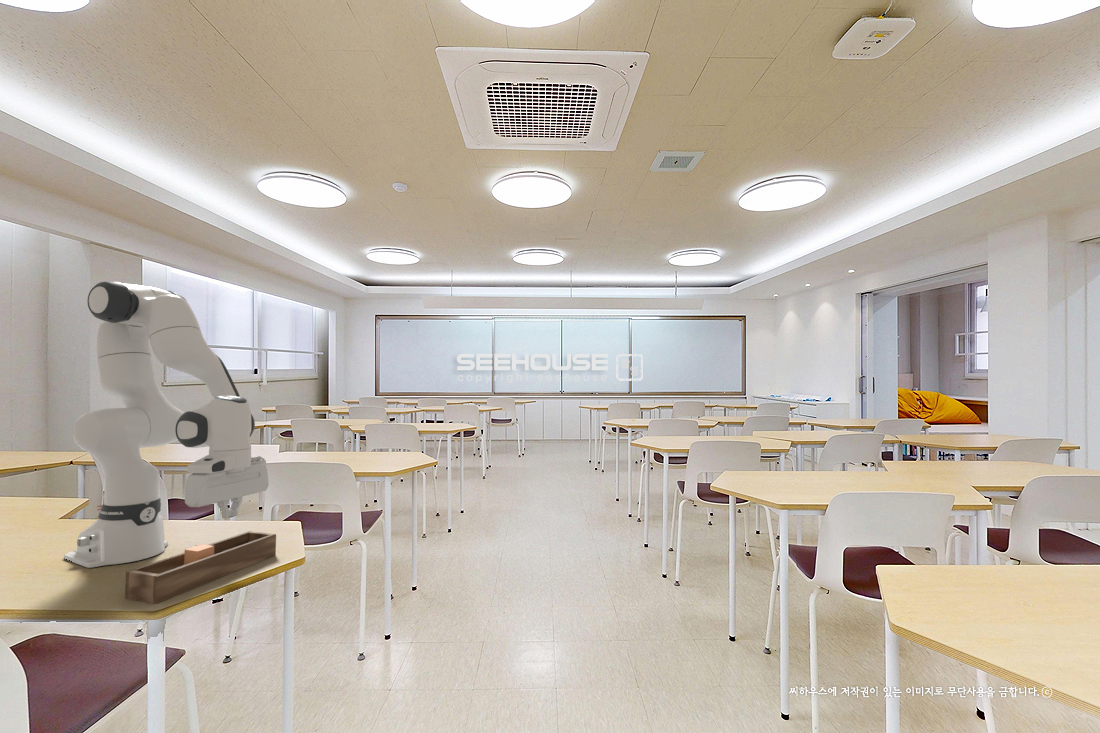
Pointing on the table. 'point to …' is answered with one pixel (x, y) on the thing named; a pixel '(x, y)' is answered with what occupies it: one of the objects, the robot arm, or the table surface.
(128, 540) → the robot arm
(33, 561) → the table surface
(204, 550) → the block
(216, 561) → the box
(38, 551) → the table surface
